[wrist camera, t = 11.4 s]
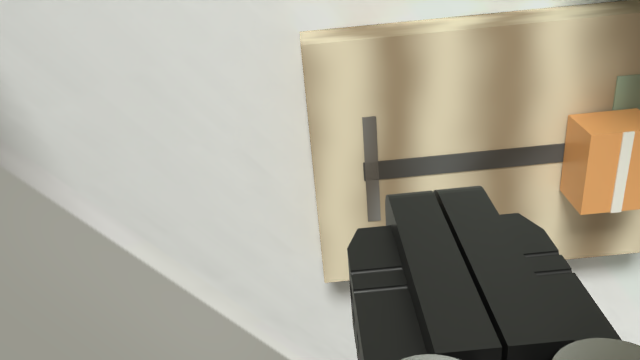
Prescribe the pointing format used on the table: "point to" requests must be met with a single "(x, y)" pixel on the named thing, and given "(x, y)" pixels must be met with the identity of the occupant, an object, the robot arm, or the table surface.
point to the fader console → (467, 116)
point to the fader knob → (602, 161)
